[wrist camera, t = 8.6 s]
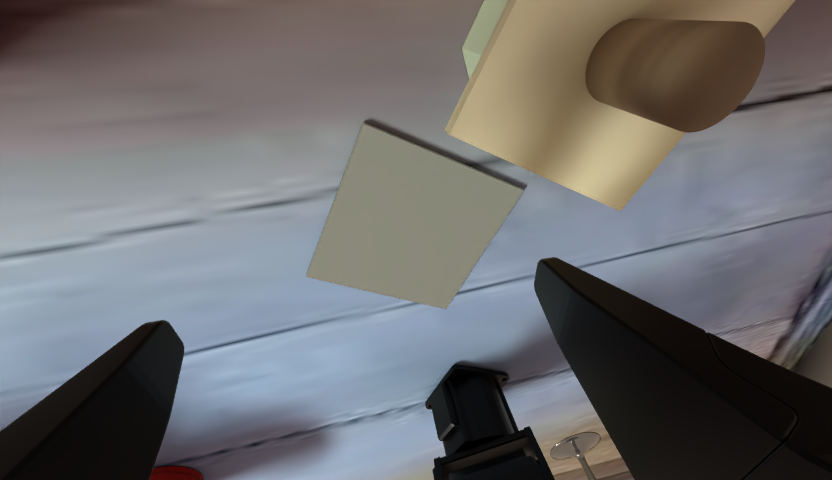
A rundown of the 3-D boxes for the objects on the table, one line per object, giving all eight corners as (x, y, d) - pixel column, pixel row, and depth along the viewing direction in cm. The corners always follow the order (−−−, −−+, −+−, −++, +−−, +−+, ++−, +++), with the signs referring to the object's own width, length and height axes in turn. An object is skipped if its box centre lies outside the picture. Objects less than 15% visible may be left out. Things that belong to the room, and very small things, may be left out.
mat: (521, 187, 23) (523, 190, 22) (444, 305, 28) (446, 309, 27) (363, 121, 19) (363, 123, 18) (306, 273, 24) (306, 276, 23)
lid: (784, -12, 15) (964, -20, 10) (611, 204, 20) (685, 258, 15) (607, -201, 11) (780, -342, 6) (444, 129, 16) (482, 174, 11)
